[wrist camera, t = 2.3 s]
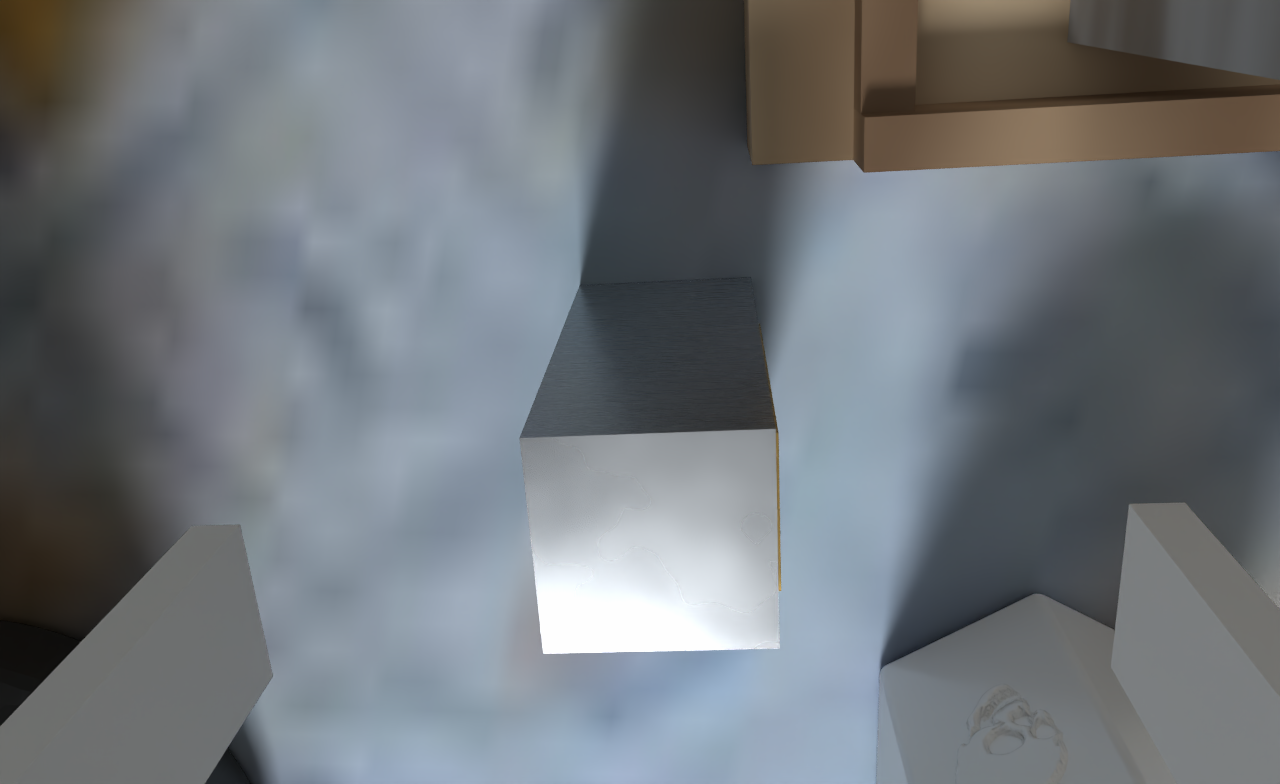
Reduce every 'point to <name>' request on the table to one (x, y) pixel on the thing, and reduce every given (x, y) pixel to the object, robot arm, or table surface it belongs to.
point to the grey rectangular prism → (656, 473)
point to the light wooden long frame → (1009, 80)
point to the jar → (1014, 706)
